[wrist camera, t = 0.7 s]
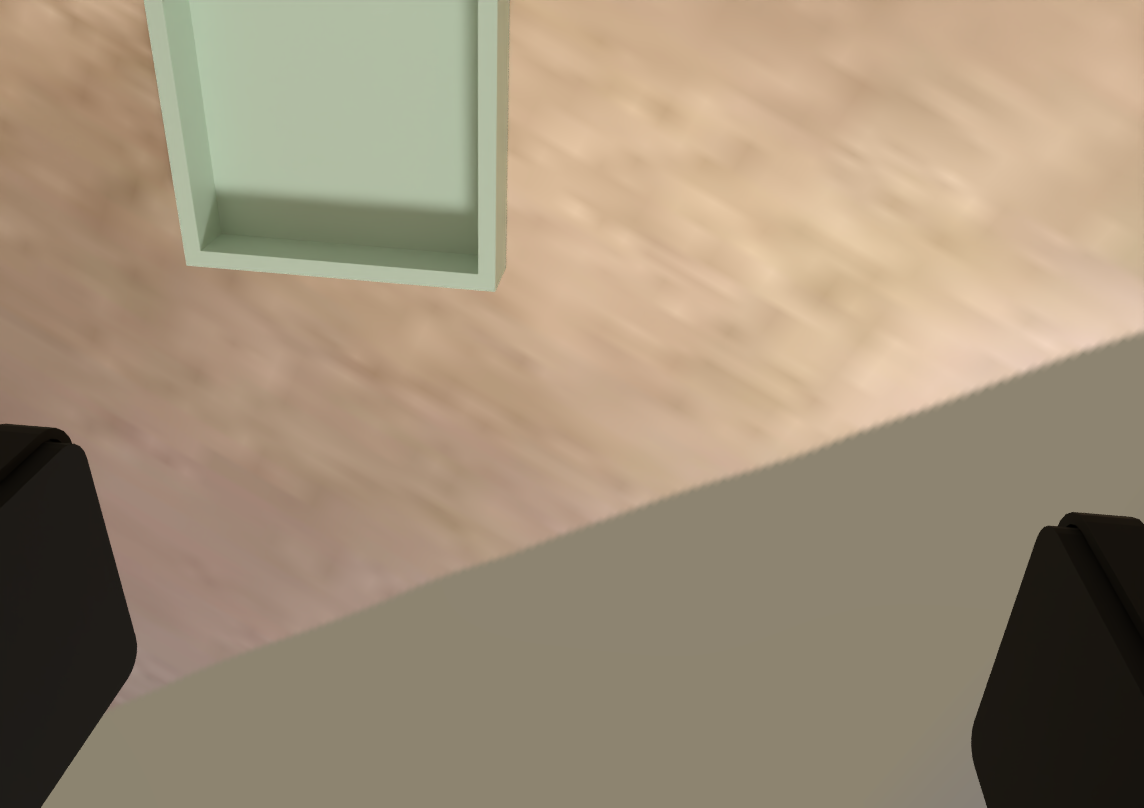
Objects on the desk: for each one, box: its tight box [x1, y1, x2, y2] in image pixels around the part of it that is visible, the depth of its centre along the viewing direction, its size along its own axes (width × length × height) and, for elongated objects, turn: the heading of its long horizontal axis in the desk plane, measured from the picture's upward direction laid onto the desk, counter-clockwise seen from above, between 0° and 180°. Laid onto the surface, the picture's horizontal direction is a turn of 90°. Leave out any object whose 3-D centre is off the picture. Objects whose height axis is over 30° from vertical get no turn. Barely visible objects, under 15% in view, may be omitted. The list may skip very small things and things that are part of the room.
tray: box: [144, 0, 510, 292], centre depth 32 cm, size 13×11×2 cm
